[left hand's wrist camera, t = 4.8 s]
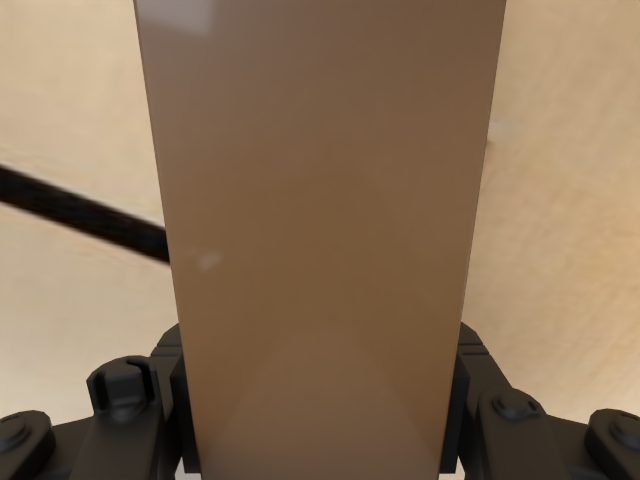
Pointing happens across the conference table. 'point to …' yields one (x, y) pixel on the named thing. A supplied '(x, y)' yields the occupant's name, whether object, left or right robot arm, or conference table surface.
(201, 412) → the bar
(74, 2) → the conference table surface
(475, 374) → the left robot arm
